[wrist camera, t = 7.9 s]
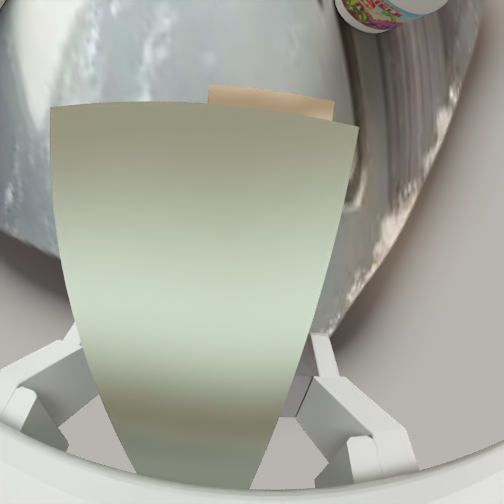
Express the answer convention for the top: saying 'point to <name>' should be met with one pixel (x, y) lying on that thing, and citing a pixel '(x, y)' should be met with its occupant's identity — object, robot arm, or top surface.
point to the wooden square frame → (271, 101)
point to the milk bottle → (384, 12)
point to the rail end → (195, 269)
